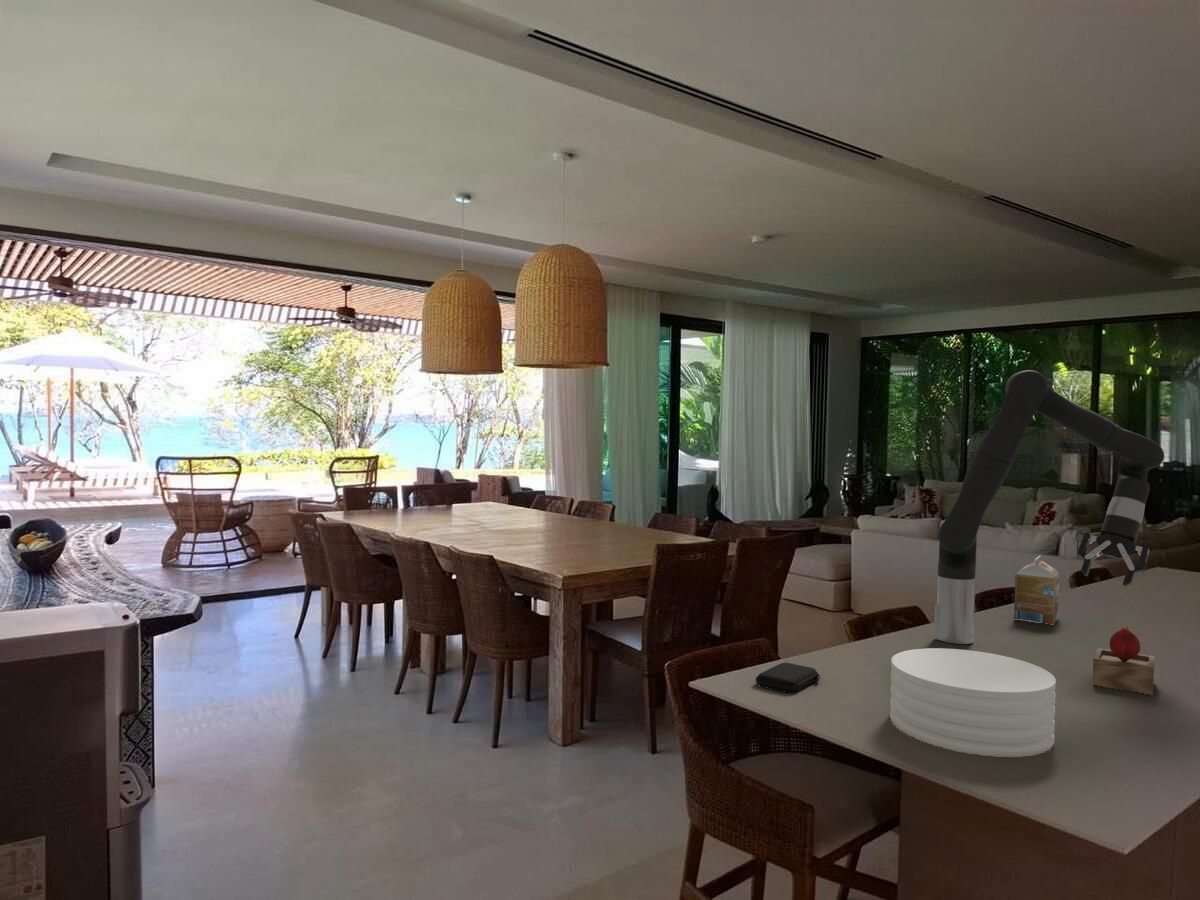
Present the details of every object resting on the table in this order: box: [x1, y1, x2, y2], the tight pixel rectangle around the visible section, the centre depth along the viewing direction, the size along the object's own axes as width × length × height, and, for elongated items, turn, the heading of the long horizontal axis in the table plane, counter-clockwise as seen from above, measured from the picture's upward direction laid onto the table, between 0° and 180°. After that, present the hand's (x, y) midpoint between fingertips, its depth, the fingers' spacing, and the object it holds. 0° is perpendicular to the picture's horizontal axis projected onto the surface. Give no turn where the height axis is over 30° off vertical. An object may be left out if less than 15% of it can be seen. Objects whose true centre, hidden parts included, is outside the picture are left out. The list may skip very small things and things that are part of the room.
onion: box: [1109, 625, 1141, 662], centre depth 179 cm, size 6×6×8 cm
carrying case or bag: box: [755, 662, 821, 693], centre depth 176 cm, size 11×3×15 cm
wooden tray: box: [1092, 647, 1156, 696], centre depth 179 cm, size 11×11×6 cm
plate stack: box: [889, 647, 1057, 755], centre depth 150 cm, size 28×28×12 cm
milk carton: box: [1013, 555, 1061, 625], centre depth 242 cm, size 11×11×19 cm
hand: (1104, 580), depth 196 cm, fingers open, 8 cm apart
